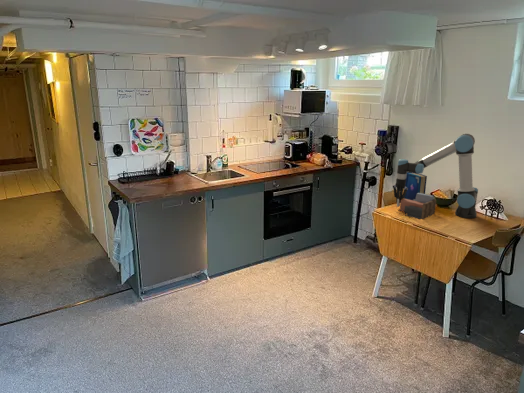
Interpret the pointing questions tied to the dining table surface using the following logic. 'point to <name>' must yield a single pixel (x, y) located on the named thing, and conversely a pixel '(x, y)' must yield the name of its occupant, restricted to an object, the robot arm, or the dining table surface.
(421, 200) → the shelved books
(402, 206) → the book box
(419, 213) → the bookend
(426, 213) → the shelf wall
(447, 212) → the dining table surface
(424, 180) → the book
